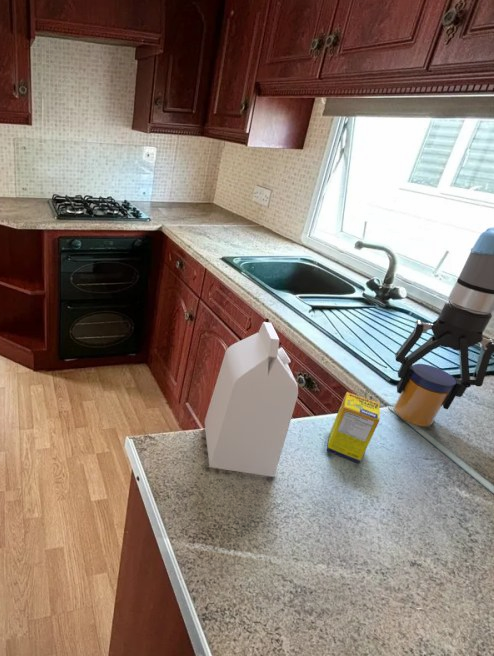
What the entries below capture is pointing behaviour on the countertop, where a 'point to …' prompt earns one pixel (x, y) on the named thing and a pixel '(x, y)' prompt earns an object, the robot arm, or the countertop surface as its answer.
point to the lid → (432, 378)
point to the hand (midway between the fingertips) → (421, 397)
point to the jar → (419, 404)
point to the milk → (251, 405)
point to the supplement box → (353, 427)
